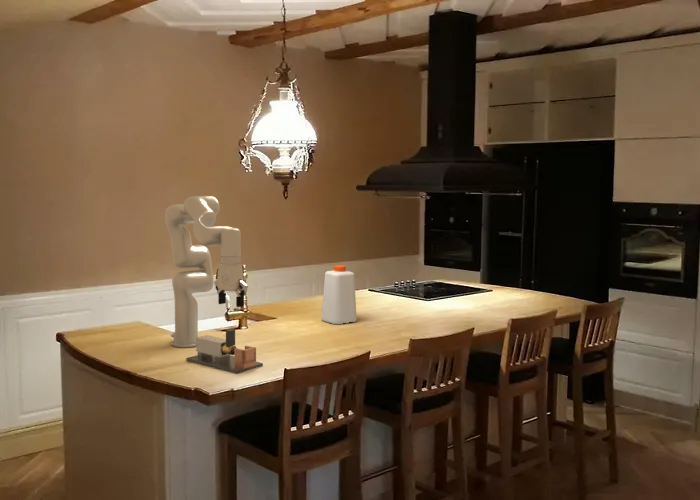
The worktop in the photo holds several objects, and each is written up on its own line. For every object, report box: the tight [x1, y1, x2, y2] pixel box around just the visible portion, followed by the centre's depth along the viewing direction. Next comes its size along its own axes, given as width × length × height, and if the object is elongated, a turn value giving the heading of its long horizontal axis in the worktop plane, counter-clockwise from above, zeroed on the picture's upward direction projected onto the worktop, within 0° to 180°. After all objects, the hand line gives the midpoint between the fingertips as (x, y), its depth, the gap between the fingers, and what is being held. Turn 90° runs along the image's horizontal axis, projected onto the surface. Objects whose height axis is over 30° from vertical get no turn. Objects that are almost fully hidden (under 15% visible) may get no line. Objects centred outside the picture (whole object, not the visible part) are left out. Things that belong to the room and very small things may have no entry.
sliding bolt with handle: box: [222, 328, 237, 356], centre depth 287 cm, size 17×4×10 cm, turn 53°
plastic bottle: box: [321, 264, 357, 325], centre depth 367 cm, size 15×15×28 cm
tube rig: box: [185, 334, 264, 375], centre depth 285 cm, size 28×14×9 cm, turn 53°
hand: (230, 305), depth 281 cm, fingers open, 9 cm apart
